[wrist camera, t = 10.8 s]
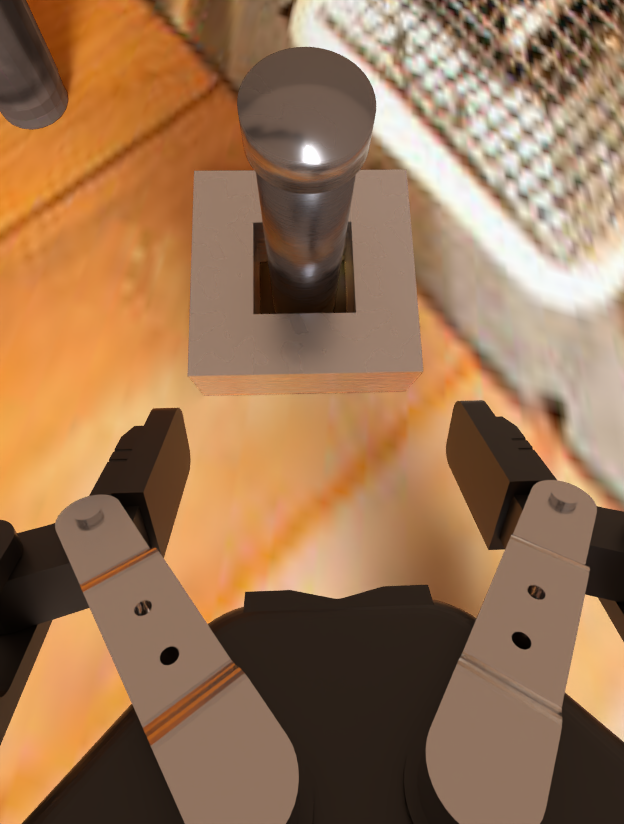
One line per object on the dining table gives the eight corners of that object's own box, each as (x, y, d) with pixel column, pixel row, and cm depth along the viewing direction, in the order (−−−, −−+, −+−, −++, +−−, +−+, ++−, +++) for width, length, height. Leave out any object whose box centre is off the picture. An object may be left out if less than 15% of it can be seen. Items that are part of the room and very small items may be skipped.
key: (269, 335, 27) (236, 163, 14) (268, 270, 28) (237, 46, 14) (340, 334, 27) (380, 162, 14) (337, 269, 28) (372, 47, 15)
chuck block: (204, 395, 26) (187, 376, 22) (208, 216, 29) (194, 170, 25) (405, 391, 27) (423, 371, 23) (392, 214, 29) (406, 169, 25)
